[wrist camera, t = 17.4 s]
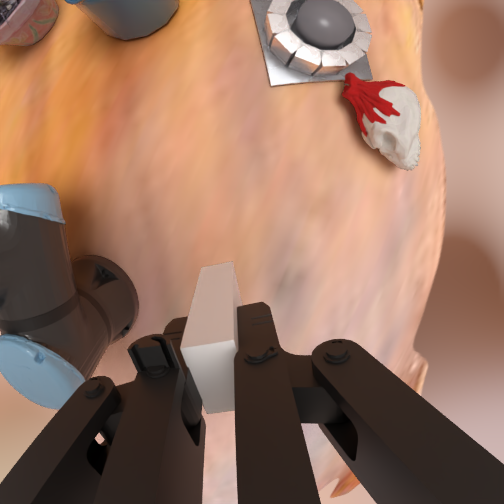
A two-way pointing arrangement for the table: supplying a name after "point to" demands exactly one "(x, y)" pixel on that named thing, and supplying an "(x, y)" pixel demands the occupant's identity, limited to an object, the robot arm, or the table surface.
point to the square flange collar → (308, 46)
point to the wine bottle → (128, 15)
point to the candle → (387, 118)
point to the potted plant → (26, 20)
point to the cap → (323, 24)
